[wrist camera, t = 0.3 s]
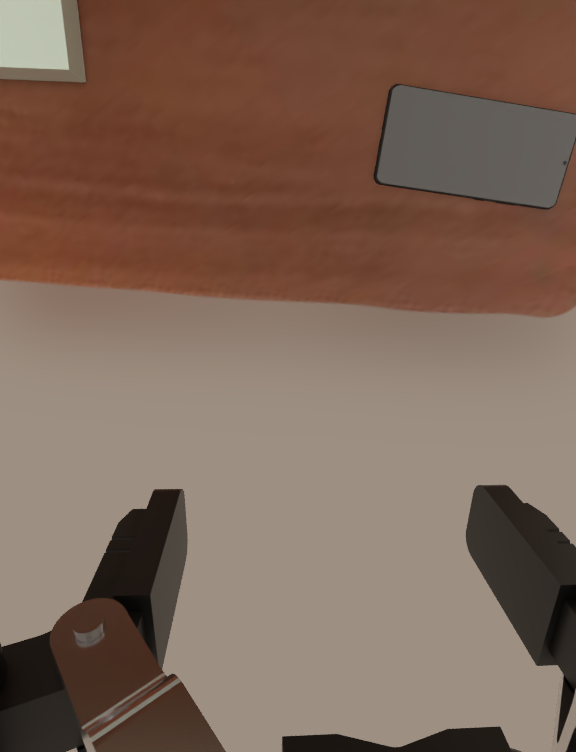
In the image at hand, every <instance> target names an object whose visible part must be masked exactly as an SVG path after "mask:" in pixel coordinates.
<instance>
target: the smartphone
mask: <svg viewBox="0 0 576 752" xmlns="http://www.w3.org/2000/svg"><path fill="white" fill-rule="evenodd" d="M575 141H576V114H574V113H568V112H562V111H556V110H550V109H544V108H538V107H532V106H526V105H520V104H514V103H508V102H502V101H496V100H490V99H484V98H478V97H472V96H466V95H461V94H455V93H449V92H443V91H437V90H431V89H425V88H419V87H413V86H407V85H401V84H396V85H394V86H392V87H391V89H390V90H389V94H388V99H387V105H386V110H385V116H384V122H383V127H382V136H381V140H380V144H379V150H378V156H377V157H378V158H377V161H376V162H377V163H376V166H375V172H374V180H375V182H376V183H378V184H380V185H386V186H393V187H400V188H406V189H413V190H420V191H427V192H433V193H440V194H447V195H453V196H460V197H467V198H473V199H477V200H483V201H484V200H487V201H493V202H497V203H503V204H510V205H520V206H526V207H533V208H540V209H550V208H552V207H553V206H554V205H555V204H556V202H557V199H558V196H559V193H560V189H561V186H562V183H563V180H564V176H565V173H566V170H567V167H568V163H569V160H570V157H571V154H572V150H573V147H574V144H575Z"/></svg>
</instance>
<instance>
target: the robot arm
mask: <svg viewBox="0 0 576 752" xmlns="http://www.w3.org/2000/svg"><path fill="white" fill-rule="evenodd" d="M466 542H467V546H468V550H469V552H470V554H471V556H472V558H473V560H474V561H475V563H476V565H477V566H478V568H479V570H480V571H481V573H482V575H483V576H484V578H485V580H486V582H487V583H488V585H489V587H490V588H491V590H492V592H493V593H494V595H495V597H496V598H497V600H498V602H499V603H500V605H501V607H502V608H503V610H504V612H505V613H506V615H507V616H508V618H509V620H510V622H511V623H512V625H513V627H514V628H515V630H516V632H517V633H518V635H519V637H520V638H521V640H522V642H523V643H524V645H525V647H526V649H527V650H528V652H529V654H530V655H531V657H532V659H533V660H534V662H535V663H536V665H537V666H543V665H558V666H559V668H560V669H561V671H562V672H563V674H562V677H561V680H560V684H559V692H558V700H557V709H556V718H555V726H554V735H553V743H552V752H576V547H575V546H574V545H573V544H570V540H569V539H568V538H567V537H566V536H565V535H564V534H563V533H562V532H559V529H558V528H557V526H556V525H555V524H554V523H553V522H552V521H551V520H550V519H549V518H548V517H547V515H545V514H544V513H542V512H540V511H539V510H537V509H536V508H534V507H533V506H531V505H529V504H528V503H523V502H522V501H521V500H520V499H519V498H518V497H517V496H516V495H515V493H514V492H513V491H512V490H511V489H510V488H509V487H508V486H506V485H478V486H477V487H476V488H475V490H474V493H473V498H472V503H471V508H470V514H469V519H468V524H467V529H466ZM186 555H187V525H186V512H185V498H184V491H183V489H155V490H154V491H153V493H152V496H151V498H150V501H149V504H148V506H147V509H133V510H131V511H130V512H129V513H128V514H127V515H126V516H125V517H124V518H123V519H122V520H121V521H120V522H119V523H118V525H117V527H116V530H115V532H114V534H113V536H112V540H111V541H110V543H109V545H108V547H107V549H106V553H104V556H103V558H102V560H101V562H100V564H99V567H98V569H97V571H96V573H95V575H94V578H93V580H92V582H91V584H90V586H89V588H88V591H87V593H86V595H85V597H84V600H83V602H82V603H80V604H78V605H76V606H74V607H73V608H71V609H70V610H68V611H67V612H66V613H65V614H63V616H61V617H60V619H59V620H58V621H57V622H56V624H55V625H54V627H53V629H52V631H50V632H48V633H45V634H43V635H41V636H37V637H34V638H31V639H27V640H24V641H21V642H17V643H14V644H11V645H7V646H4V647H1V644H0V752H66V751H69V750H71V749H75V752H226V751H225V750H224V748H223V747H222V745H221V743H220V742H219V740H218V739H217V737H216V735H215V734H214V732H213V731H212V729H211V728H210V726H209V724H208V723H207V721H206V720H205V718H204V716H203V715H202V713H201V712H200V710H199V709H198V707H197V705H196V704H195V702H194V701H193V699H192V698H191V696H190V694H189V693H188V691H187V690H186V688H185V686H184V685H183V683H182V682H181V680H180V679H179V678H178V677H177V676H176V675H175V674H171V675H169V676H168V677H167V676H166V675H165V674H164V672H163V671H162V666H163V662H164V658H165V653H166V648H167V644H168V639H169V634H170V630H171V626H172V621H173V616H174V612H175V607H176V603H177V598H178V593H179V589H180V584H181V579H182V575H183V571H184V566H185V561H186ZM282 752H521V751H518V750H516V749H512V748H510V747H509V745H508V743H507V741H506V739H505V736H504V734H503V732H502V730H501V728H500V727H484V728H483V727H482V728H461V729H447V730H444V731H442V732H439V733H436V734H434V735H431V736H428V737H426V738H423V739H420V740H418V741H415V742H413V743H410V744H407V745H405V746H402V747H395V748H394V747H388V746H384V745H380V744H376V743H372V742H368V741H363V740H359V739H355V738H351V737H347V736H343V735H339V734H331V735H330V734H328V735H307V736H286V737H285V736H284V737H282Z"/></svg>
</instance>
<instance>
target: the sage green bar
mask: <svg viewBox="0 0 576 752" xmlns="http://www.w3.org/2000/svg"><path fill="white" fill-rule="evenodd" d="M0 79H11V80H36V81H61V82H86V76H85V67H84V58H83V49H82V40H81V31H80V22H79V13H78V3H77V0H0Z"/></svg>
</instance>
